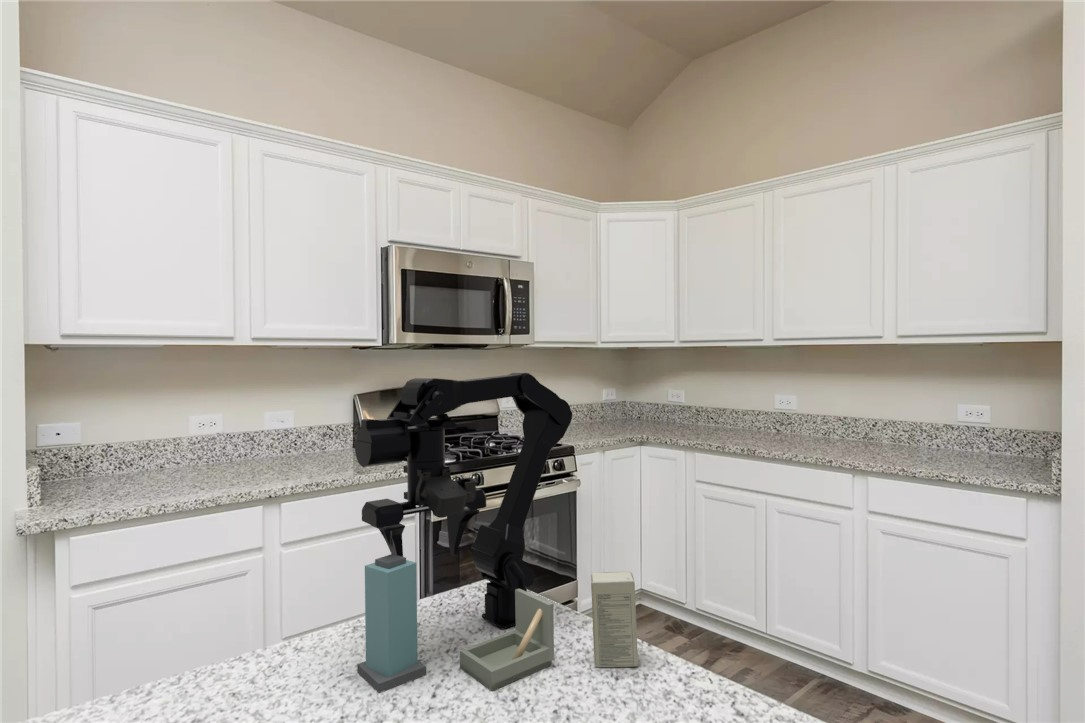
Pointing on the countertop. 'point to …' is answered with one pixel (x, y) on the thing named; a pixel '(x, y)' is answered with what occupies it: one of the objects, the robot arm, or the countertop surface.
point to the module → (391, 614)
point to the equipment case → (514, 645)
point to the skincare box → (614, 619)
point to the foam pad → (384, 682)
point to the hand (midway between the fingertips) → (427, 561)
